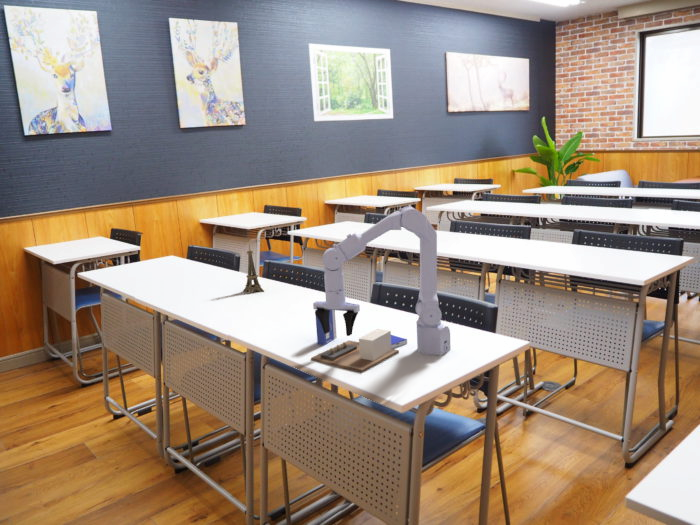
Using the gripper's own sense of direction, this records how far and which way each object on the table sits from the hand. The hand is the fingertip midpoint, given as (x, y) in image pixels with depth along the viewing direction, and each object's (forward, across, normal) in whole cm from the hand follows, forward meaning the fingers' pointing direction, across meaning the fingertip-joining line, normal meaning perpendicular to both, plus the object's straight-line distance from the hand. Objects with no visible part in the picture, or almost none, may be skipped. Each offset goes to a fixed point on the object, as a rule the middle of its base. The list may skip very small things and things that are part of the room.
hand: (338, 333), depth 170 cm
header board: (+7, -5, -1) cm, 8 cm away
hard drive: (+6, -2, -18) cm, 19 cm away
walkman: (+7, +10, -10) cm, 16 cm away
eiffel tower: (+7, +71, -53) cm, 89 cm away
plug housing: (+6, -11, -3) cm, 13 cm away
